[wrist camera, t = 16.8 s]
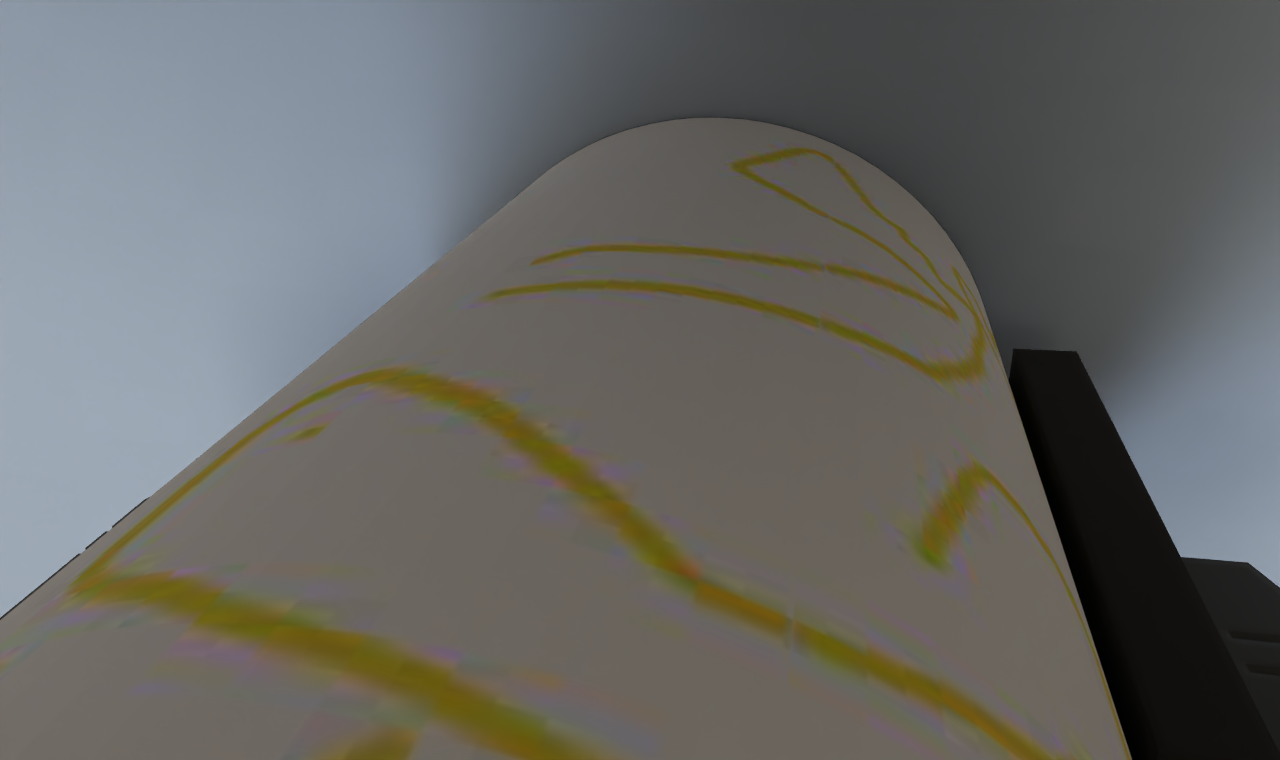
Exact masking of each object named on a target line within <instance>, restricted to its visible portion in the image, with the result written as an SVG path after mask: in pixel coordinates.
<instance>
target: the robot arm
mask: <svg viewBox="0 0 1280 760" xmlns="http://www.w3.org/2000/svg"><path fill="white" fill-rule="evenodd" d="M1009 385H1010V388H1011V391H1012V394H1013V397H1014V400H1015V403H1016V406H1017V409H1018V412H1019V415H1020V418H1021V421H1022V424H1023V427H1024V430H1025V433H1026V436H1027V440H1028V443H1029V446H1030V449H1031V452H1032V455H1033V458H1034V461H1035V464H1036V467H1037V470H1038V473H1039V476H1040V479H1041V482H1042V485H1043V488H1044V492H1045V495H1046V498H1047V501H1048V504H1049V507H1050V510H1051V513H1052V516H1053V519H1054V522H1055V525H1056V528H1057V531H1058V534H1059V537H1060V540H1061V544H1062V547H1063V550H1064V553H1065V556H1066V559H1067V562H1068V565H1069V568H1070V571H1071V574H1072V577H1073V580H1074V583H1075V586H1076V589H1077V592H1078V596H1079V599H1080V602H1081V605H1082V608H1083V611H1084V614H1085V617H1086V620H1087V623H1088V626H1089V629H1090V632H1091V635H1092V638H1093V641H1094V644H1095V648H1096V651H1097V654H1098V657H1099V660H1100V663H1101V666H1102V669H1103V672H1104V675H1105V678H1106V681H1107V684H1108V687H1109V690H1110V693H1111V696H1112V700H1113V703H1114V706H1115V709H1116V712H1117V715H1118V718H1119V721H1120V724H1121V727H1122V730H1123V733H1124V736H1125V739H1126V742H1127V745H1128V748H1129V752H1130V755H1131V758H1132V760H1280V588H1279V587H1278V586H1277V585H1275V584H1274V583H1273V582H1272V581H1270V580H1269V579H1268V578H1267V577H1265V576H1264V575H1263V574H1262V573H1260V572H1259V571H1258V570H1257V569H1255V568H1254V567H1253V566H1252V565H1250V564H1249V563H1246V562H1234V561H1222V560H1210V559H1197V558H1185V557H1180V555H1179V553H1178V551H1177V549H1176V547H1175V545H1174V543H1173V541H1172V539H1171V537H1170V535H1169V533H1168V531H1167V529H1166V527H1165V525H1164V523H1163V521H1162V519H1161V517H1160V515H1159V513H1158V511H1157V509H1156V507H1155V505H1154V503H1153V501H1152V499H1151V497H1150V495H1149V494H1148V492H1147V490H1146V488H1145V486H1144V484H1143V482H1142V480H1141V478H1140V476H1139V474H1138V472H1137V470H1136V468H1135V466H1134V464H1133V462H1132V460H1131V458H1130V456H1129V454H1128V452H1127V450H1126V448H1125V446H1124V444H1123V442H1122V440H1121V438H1120V436H1119V434H1118V432H1117V430H1116V428H1115V426H1114V424H1113V422H1112V420H1111V418H1110V416H1109V414H1108V413H1107V411H1106V409H1105V407H1104V405H1103V403H1102V401H1101V399H1100V397H1099V395H1098V393H1097V391H1096V389H1095V387H1094V385H1093V383H1092V381H1091V379H1090V377H1089V375H1088V373H1087V371H1086V369H1085V367H1084V365H1083V363H1082V361H1081V359H1080V357H1079V355H1078V353H1077V351H1055V350H1031V349H1013V355H1012V362H1011V369H1010V376H1009ZM149 498H150V497H149ZM149 498H147V499H149ZM147 499H145V500H144V501H142V502H141V503H140V504H139V505H138V506H136V507H135V508H134V509H133V510H131V511H130V512H129V513H128V514H127V515H125V516H124V517H123V518H122V519H120V520H119V521H118V522H117V523H116V524H114V525H113V526H112V528H113V527H114V526H116V525H117V524H118V523H119V522H121V521H122V520H123V519H124V518H125V517H127V516H128V515H129V514H130V513H131V512H133V511H134V510H135V509H136V508H138V507H139V506H140V505H141V504H142V503H144V502H145V501H146V500H147ZM106 533H107V532H105V533H103V534H102V535H101V536H100V537H98V538H97V539H96V540H95V541H94V542H92V543H91V544H90V545H89V546H87V547H86V549H88V548H89V547H90V546H91V545H93V544H94V543H95V542H96V541H97V540H99V539H100V538H101V537H102V536H103V535H105V534H106ZM79 555H80V554H78V555H76V556H75V557H74V558H73V559H72V560H70V561H69V562H68V563H67V564H65V565H64V566H63V567H62V568H61V569H59V570H58V571H57V572H56V573H55V574H53V575H52V576H51V577H50V578H48V579H47V580H46V581H45V582H44V583H42V584H41V585H40V586H39V587H37V588H36V589H35V590H34V591H33V592H31V593H30V594H29V595H28V596H26V597H25V598H24V599H23V600H22V601H20V602H19V603H18V604H17V605H15V606H14V607H13V608H12V609H11V610H9V611H8V612H7V613H6V614H4V615H3V616H2V617H1V618H0V620H1V619H2V618H4V617H5V616H6V615H7V614H9V613H10V612H11V611H12V610H13V609H15V608H16V607H17V606H18V605H19V604H21V603H22V602H23V601H24V600H26V599H27V598H28V597H29V596H30V595H32V594H33V593H34V592H35V591H37V590H38V589H39V588H40V587H41V586H43V585H44V584H45V583H46V582H47V581H49V580H50V579H51V578H52V577H54V576H55V575H56V574H57V573H58V572H60V571H61V570H62V569H63V568H65V567H66V566H67V565H68V564H69V563H71V562H72V561H73V560H74V559H75V558H77V557H78V556H79Z"/></svg>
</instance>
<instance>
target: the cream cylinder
mask: <svg viewBox="0 0 1280 760" xmlns="http://www.w3.org/2000/svg"><path fill="white" fill-rule="evenodd" d="M0 760H1132V758H1131V755H1130V752H1129V748H1128V745H1127V742H1126V739H1125V736H1124V733H1123V730H1122V727H1121V724H1120V721H1119V718H1118V715H1117V712H1116V709H1115V706H1114V703H1113V700H1112V696H1111V693H1110V690H1109V687H1108V684H1107V681H1106V678H1105V675H1104V672H1103V669H1102V666H1101V663H1100V660H1099V657H1098V654H1097V651H1096V648H1095V644H1094V641H1093V638H1092V635H1091V632H1090V629H1089V626H1088V623H1087V620H1086V617H1085V614H1084V611H1083V608H1082V605H1081V602H1080V599H1079V596H1078V592H1077V589H1076V586H1075V583H1074V580H1073V577H1072V574H1071V571H1070V568H1069V565H1068V562H1067V559H1066V556H1065V553H1064V550H1063V547H1062V544H1061V540H1060V537H1059V534H1058V531H1057V528H1056V525H1055V522H1054V519H1053V516H1052V513H1051V510H1050V507H1049V504H1048V501H1047V498H1046V495H1045V492H1044V488H1043V485H1042V482H1041V479H1040V476H1039V473H1038V470H1037V467H1036V464H1035V461H1034V458H1033V455H1032V452H1031V449H1030V446H1029V443H1028V440H1027V436H1026V433H1025V430H1024V427H1023V424H1022V421H1021V418H1020V415H1019V412H1018V409H1017V406H1016V403H1015V400H1014V397H1013V394H1012V391H1011V388H1010V385H1009V381H1008V378H1007V375H1006V372H1005V369H1004V366H1003V363H1002V360H1001V357H1000V354H999V351H998V348H997V345H996V342H995V339H994V336H993V333H992V329H991V326H990V323H989V320H988V317H987V314H986V311H985V308H984V305H983V302H982V299H981V297H980V294H979V291H978V289H977V286H976V284H975V282H974V280H973V277H972V275H971V273H970V271H969V269H968V267H967V265H966V264H965V262H964V260H963V258H962V256H961V255H960V253H959V251H958V250H957V248H956V247H955V245H954V244H953V242H952V241H951V239H950V238H949V237H948V235H947V234H946V232H945V231H944V230H943V229H942V227H941V226H940V225H939V224H938V222H937V221H936V220H935V219H934V218H933V216H932V215H931V214H930V213H929V212H928V211H927V210H926V209H925V208H924V207H923V206H922V205H921V204H920V203H919V202H918V201H917V200H916V199H915V198H914V197H913V196H912V195H911V194H910V193H909V192H907V191H906V190H905V189H904V188H903V187H902V186H901V185H899V184H898V183H897V182H896V181H894V180H893V179H892V178H890V177H889V176H887V175H886V174H885V173H883V172H882V171H881V170H879V169H878V168H876V167H875V166H873V165H871V164H870V163H868V162H867V161H865V160H863V159H862V158H860V157H858V156H857V155H855V154H853V153H851V152H849V151H847V150H845V149H843V148H841V147H839V146H837V145H835V144H832V143H830V142H827V141H825V140H823V139H820V138H818V137H815V136H813V135H809V134H806V133H803V132H800V131H797V130H794V129H791V128H786V127H782V126H778V125H774V124H769V123H764V122H757V121H751V120H744V119H730V118H690V119H679V120H670V121H665V122H659V123H653V124H648V125H644V126H640V127H637V128H633V129H629V130H626V131H623V132H620V133H617V134H615V135H612V136H609V137H606V138H604V139H602V140H599V141H597V142H595V143H593V144H591V145H588V146H586V147H584V148H583V149H581V150H579V151H577V152H575V153H574V154H572V155H570V156H568V157H567V158H565V159H564V160H562V161H561V162H559V163H558V164H556V165H555V166H553V167H552V168H550V169H549V170H548V171H547V172H545V173H544V174H543V175H542V176H541V177H539V178H538V179H537V180H536V181H534V182H533V183H532V184H531V185H530V186H528V187H527V188H526V189H525V190H523V191H522V192H521V193H520V194H519V195H517V196H516V197H515V198H514V199H513V200H511V201H510V202H509V203H508V204H506V205H505V206H504V207H503V208H502V209H500V210H499V211H498V212H497V213H495V214H494V215H493V216H492V217H491V218H489V219H488V220H487V221H486V222H485V223H483V224H482V225H481V226H480V227H478V228H477V229H476V230H475V231H474V232H472V233H471V234H470V235H469V236H467V237H466V238H465V239H464V240H463V241H461V242H460V243H459V244H458V245H457V246H455V247H454V248H453V249H452V250H450V251H449V252H448V253H447V254H446V255H444V256H443V257H442V258H441V259H439V260H438V261H437V262H436V263H435V264H433V265H432V266H431V267H430V268H429V269H427V270H426V271H425V272H424V273H422V274H421V275H420V276H419V277H418V278H416V279H415V280H414V281H413V282H411V283H410V284H409V285H408V286H407V287H405V288H404V289H403V290H402V291H401V292H399V293H398V294H397V295H396V296H394V297H393V298H392V299H391V300H390V301H388V302H387V303H386V304H385V305H383V306H382V307H381V308H380V309H379V310H377V311H376V312H375V313H374V314H373V315H371V316H370V317H369V318H368V319H366V320H365V321H364V322H363V323H362V324H360V325H359V326H358V327H357V328H355V329H354V330H353V331H352V332H351V333H349V334H348V335H347V336H346V337H345V338H343V339H342V340H341V341H340V342H338V343H337V344H336V345H335V346H334V347H332V348H331V349H330V350H329V351H327V352H326V353H325V354H324V355H323V356H321V357H320V358H319V359H318V360H317V361H315V362H314V363H313V364H312V365H310V366H309V367H308V368H307V369H306V370H304V371H303V372H302V373H301V374H299V375H298V376H297V377H296V378H295V379H293V380H292V381H291V382H290V383H289V384H287V385H286V386H285V387H284V388H282V389H281V390H280V391H279V392H278V393H276V394H275V395H274V396H273V397H271V398H270V399H269V400H268V401H267V402H265V403H264V404H263V405H262V406H261V407H259V408H258V409H257V410H256V411H254V412H253V413H252V414H251V415H250V416H248V417H247V418H246V419H245V420H243V421H242V422H241V423H240V424H239V425H237V426H236V427H235V428H234V429H233V430H231V431H230V432H229V433H228V434H226V435H225V436H224V437H223V438H222V439H220V440H219V441H218V442H217V443H215V444H214V445H213V446H212V447H211V448H209V449H208V450H207V451H206V452H205V453H203V454H202V455H201V456H200V457H198V458H197V459H196V460H195V461H194V462H192V463H191V464H190V465H189V466H187V467H186V468H185V469H184V470H183V471H181V472H180V473H179V474H178V475H177V476H175V477H174V478H173V479H172V480H170V481H169V482H168V483H167V484H166V485H164V486H163V487H162V488H161V489H159V490H158V491H157V492H156V493H155V494H153V495H152V496H151V497H150V498H149V499H147V500H146V501H145V502H144V503H142V504H141V505H140V506H139V507H138V508H136V509H135V510H134V511H133V512H131V513H130V514H129V515H128V516H127V517H125V518H124V519H123V520H122V521H121V522H119V523H118V524H117V525H116V526H114V527H113V528H112V529H111V530H110V531H108V532H107V533H106V534H105V535H103V536H102V537H101V538H100V539H99V540H97V541H96V542H95V543H94V544H93V545H91V546H90V547H89V548H88V549H86V550H85V551H84V552H83V553H82V554H80V555H79V556H78V557H77V558H75V559H74V560H73V561H72V562H71V563H69V564H68V565H67V566H66V567H65V568H63V569H62V570H61V571H60V572H58V573H57V574H56V575H55V576H54V577H52V578H51V579H50V580H49V581H47V582H46V583H45V584H44V585H43V586H41V587H40V588H39V589H38V590H37V591H35V592H34V593H33V594H32V595H30V596H29V597H28V598H27V599H26V600H24V601H23V602H22V603H21V604H19V605H18V606H17V607H16V608H15V609H13V610H12V611H11V612H10V613H9V614H7V615H6V616H5V617H4V618H2V619H1V620H0Z"/></svg>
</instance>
